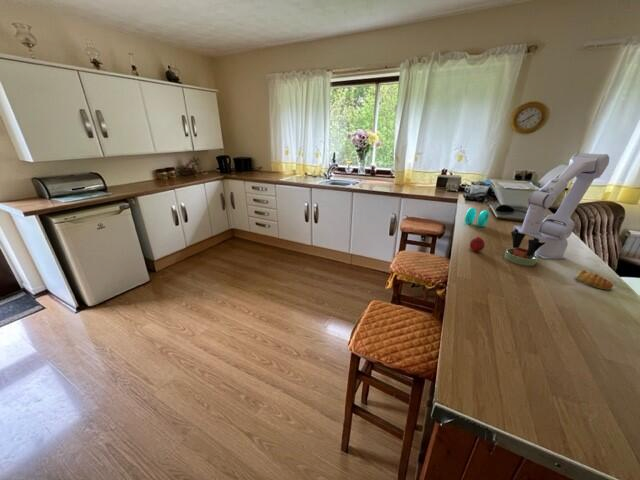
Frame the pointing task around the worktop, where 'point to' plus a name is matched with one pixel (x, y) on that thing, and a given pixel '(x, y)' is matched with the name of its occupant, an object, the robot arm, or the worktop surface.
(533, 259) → the big bowl
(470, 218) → the pair of cyan ovals
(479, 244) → the onion
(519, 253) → the small bowl
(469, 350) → the worktop surface
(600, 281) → the pastry
